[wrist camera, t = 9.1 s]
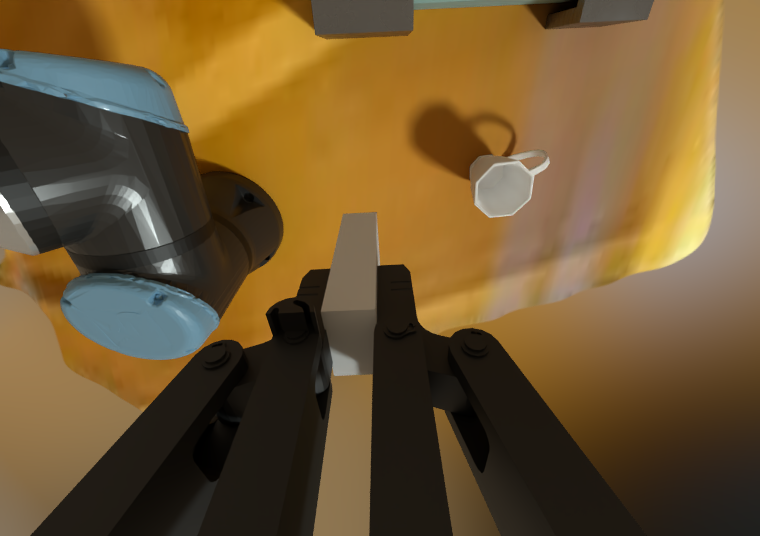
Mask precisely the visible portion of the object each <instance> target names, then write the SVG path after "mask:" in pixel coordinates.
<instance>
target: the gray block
mask: <svg viewBox="0 0 760 536" xmlns="http://www.w3.org/2000/svg"><path fill="white" fill-rule="evenodd" d="M311 4H312V12H313V20H314V29H315V35H317V36H319V37H322V38H325V39H344V38H365V37H387V36H408V35H409V34H410V33H411V32H412V31H413V9H414V0H311Z"/></svg>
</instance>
